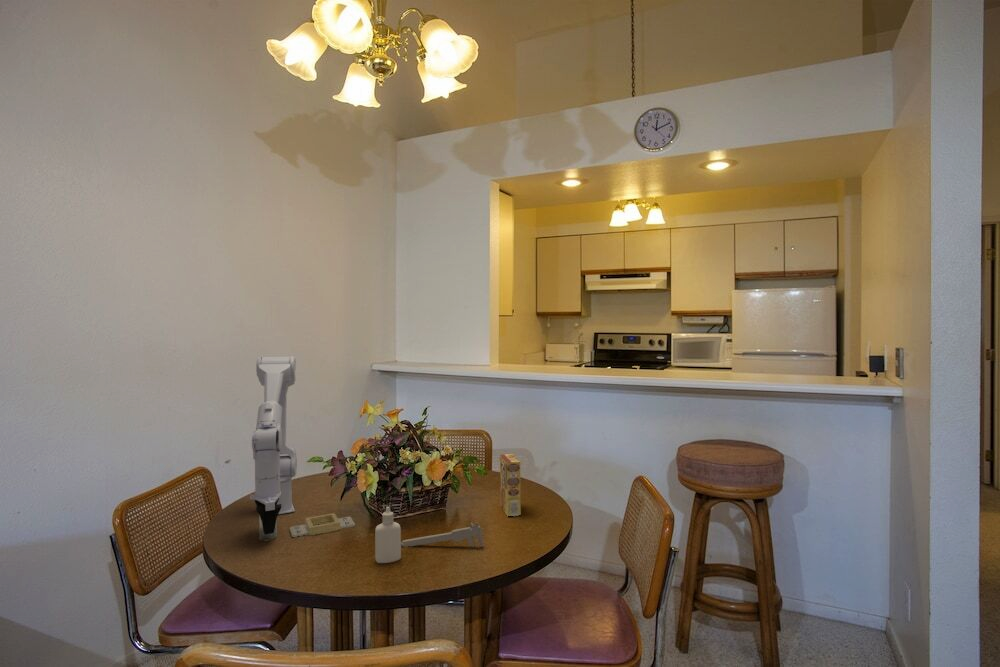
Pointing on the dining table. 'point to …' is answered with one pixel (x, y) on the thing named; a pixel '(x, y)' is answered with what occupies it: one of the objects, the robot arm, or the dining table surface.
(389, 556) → the eye dropper bottle
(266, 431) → the robot arm
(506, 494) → the candy box
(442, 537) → the caliper
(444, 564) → the dining table surface
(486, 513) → the dining table surface
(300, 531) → the cream tabbed socket tray
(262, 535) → the translucent cylinder
